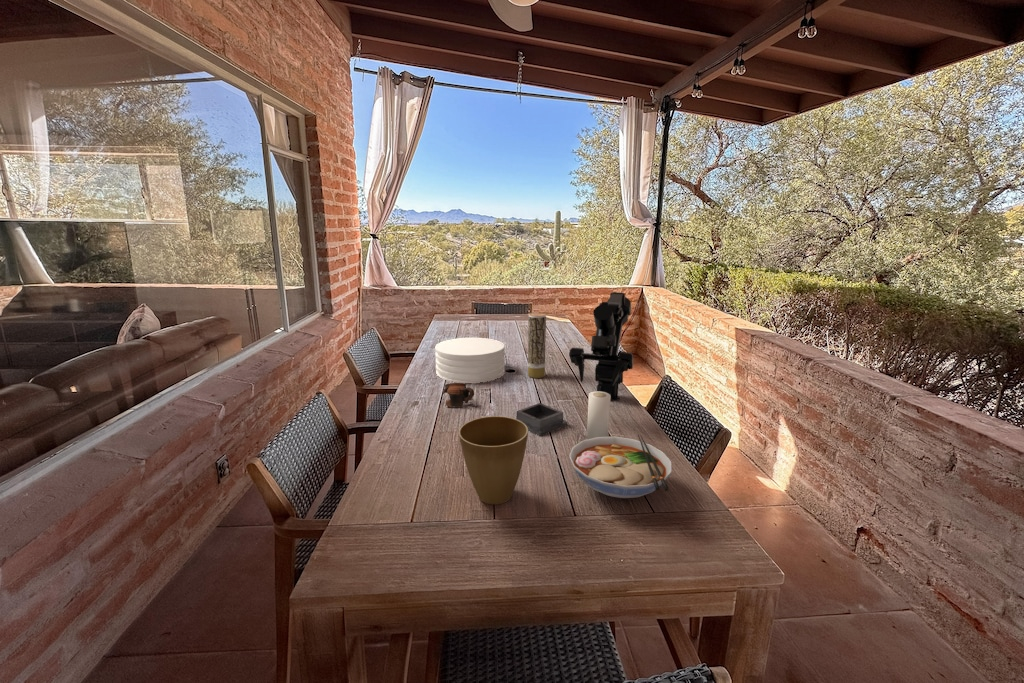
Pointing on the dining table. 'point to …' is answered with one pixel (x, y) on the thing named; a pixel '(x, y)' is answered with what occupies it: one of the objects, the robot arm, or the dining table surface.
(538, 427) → the holder
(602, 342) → the robot arm
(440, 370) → the plate stack
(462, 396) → the pottery mug
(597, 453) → the ramen bowl
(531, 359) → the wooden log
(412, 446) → the dining table surface
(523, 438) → the plant pot
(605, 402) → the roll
